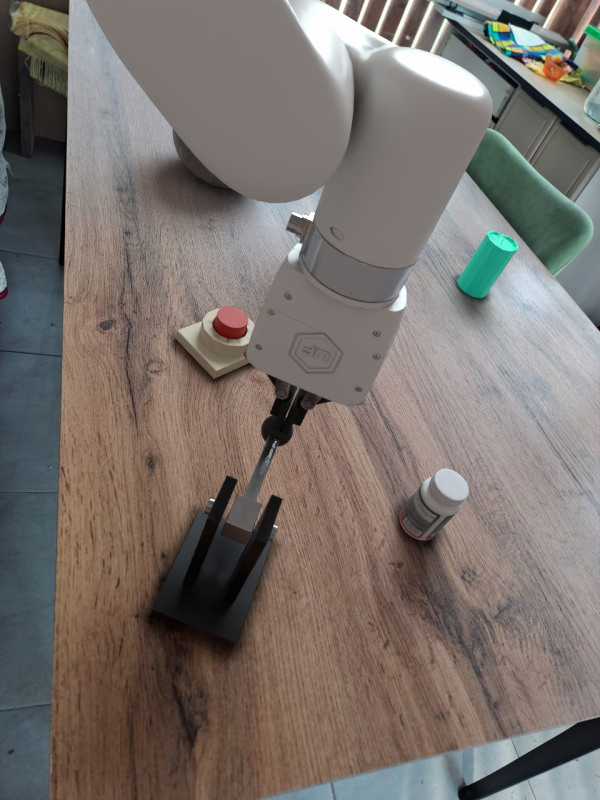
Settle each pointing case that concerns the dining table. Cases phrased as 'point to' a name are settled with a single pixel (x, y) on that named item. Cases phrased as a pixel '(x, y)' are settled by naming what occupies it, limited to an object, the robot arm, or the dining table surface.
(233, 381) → the dining table surface
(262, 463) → the lever
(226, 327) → the button
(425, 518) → the pill bottle
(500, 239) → the candle
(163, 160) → the dining table surface
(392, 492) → the dining table surface
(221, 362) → the button box
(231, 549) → the bracket
